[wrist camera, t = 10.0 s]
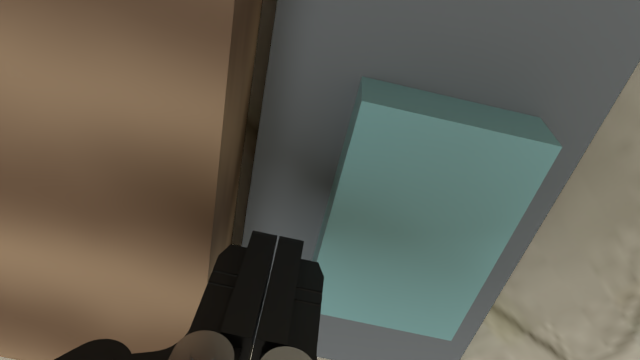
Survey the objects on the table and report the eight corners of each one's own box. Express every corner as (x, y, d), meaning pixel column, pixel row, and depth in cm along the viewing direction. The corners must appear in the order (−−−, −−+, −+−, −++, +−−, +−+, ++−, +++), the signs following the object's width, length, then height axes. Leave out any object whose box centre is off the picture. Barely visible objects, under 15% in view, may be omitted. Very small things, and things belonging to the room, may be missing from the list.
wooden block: (-257, -251, 12) (-503, -305, 8) (278, -121, 12) (246, -123, 9) (-74, 257, 22) (-154, 326, 18) (221, 317, 22) (196, 394, 19)
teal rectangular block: (562, 146, 13) (540, 117, 15) (361, 100, 13) (361, 76, 15) (451, 341, 18) (443, 302, 20) (303, 310, 18) (308, 274, 20)
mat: (302, -162, 12) (300, -163, 12) (703, -63, 12) (712, -61, 12) (229, 332, 23) (228, 339, 22) (445, 375, 23) (446, 382, 23)
